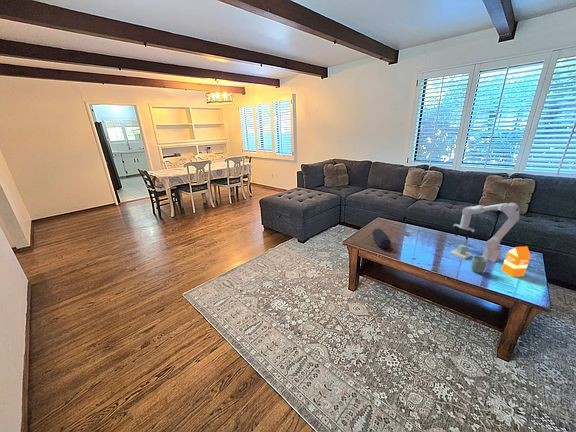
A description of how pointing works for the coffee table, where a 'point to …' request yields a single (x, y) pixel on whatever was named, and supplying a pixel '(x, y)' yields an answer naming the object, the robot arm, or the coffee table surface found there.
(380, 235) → the portable speaker
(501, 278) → the coffee table surface
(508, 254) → the orange juice
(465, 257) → the tray
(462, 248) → the block
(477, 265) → the cup
